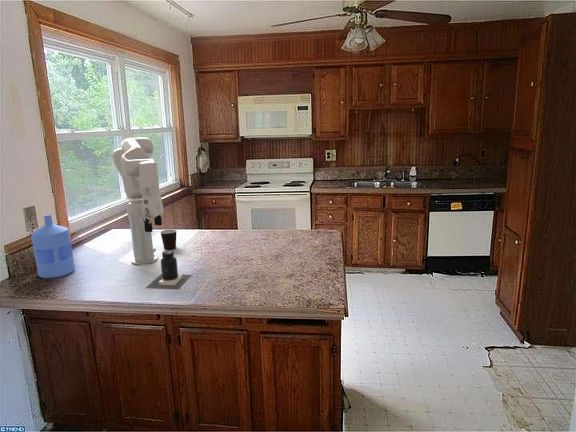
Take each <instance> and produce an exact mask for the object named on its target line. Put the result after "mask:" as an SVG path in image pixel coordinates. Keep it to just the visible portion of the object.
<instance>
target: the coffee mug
mask: <svg viewBox="0 0 576 432" xmlns="http://www.w3.org/2000/svg"><path fill="white" fill-rule="evenodd" d="M160 236H161V241H162V245H163V249H164V251H173V250H175V249H176V248H177V229H173V228H171V229H169V228H168V229H163V230H161V231H160Z"/></svg>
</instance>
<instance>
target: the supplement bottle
mask: <svg viewBox="0 0 576 432" xmlns="http://www.w3.org/2000/svg"><path fill="white" fill-rule="evenodd" d="M161 254H162V255H161V259H160V269H161V274H162V278H163V279H164V280H174V279H176V278H177V277H178V274H179V272H178V261H177V257H176V256H175V254H174V251H173V250H164V251H163V252H162V253H161Z"/></svg>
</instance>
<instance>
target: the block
mask: <svg viewBox="0 0 576 432" xmlns="http://www.w3.org/2000/svg"><path fill="white" fill-rule="evenodd" d="M183 275H184V274H183V273H178V277H177V278H176V279H174V280H164V279H162V280H161V281H159V285H173V286H175V285H176V284H177V283H178V282H179V281H180V280H181V279H182V278H183Z"/></svg>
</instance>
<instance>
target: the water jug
mask: <svg viewBox="0 0 576 432" xmlns="http://www.w3.org/2000/svg"><path fill="white" fill-rule="evenodd" d="M52 216H53V215H45V216H43V219H44V225H42V226H41V227H38V228H37V229H36V230H33V231H32V232H31V233H30V235H31V236H30V237H31V238H30V239H31V243H32V248H33V254H34V255H33V256H34V260H35V262H36V263H35V264H36V268H37V269H36V271H37V272H36V273H37V276H38V277H40V278H43V279H55V278H60V277H63V276H67V275H69V274H71V273H73V272H74V271H75V269H76V266H75V262H74V261H75V260H74V255H73V254H74V253H73V252H74V251H73V248H72V242H71V234H70V230H69V228H68V227H67V226H61V225H58V224H55V223H53V218H52Z"/></svg>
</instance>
